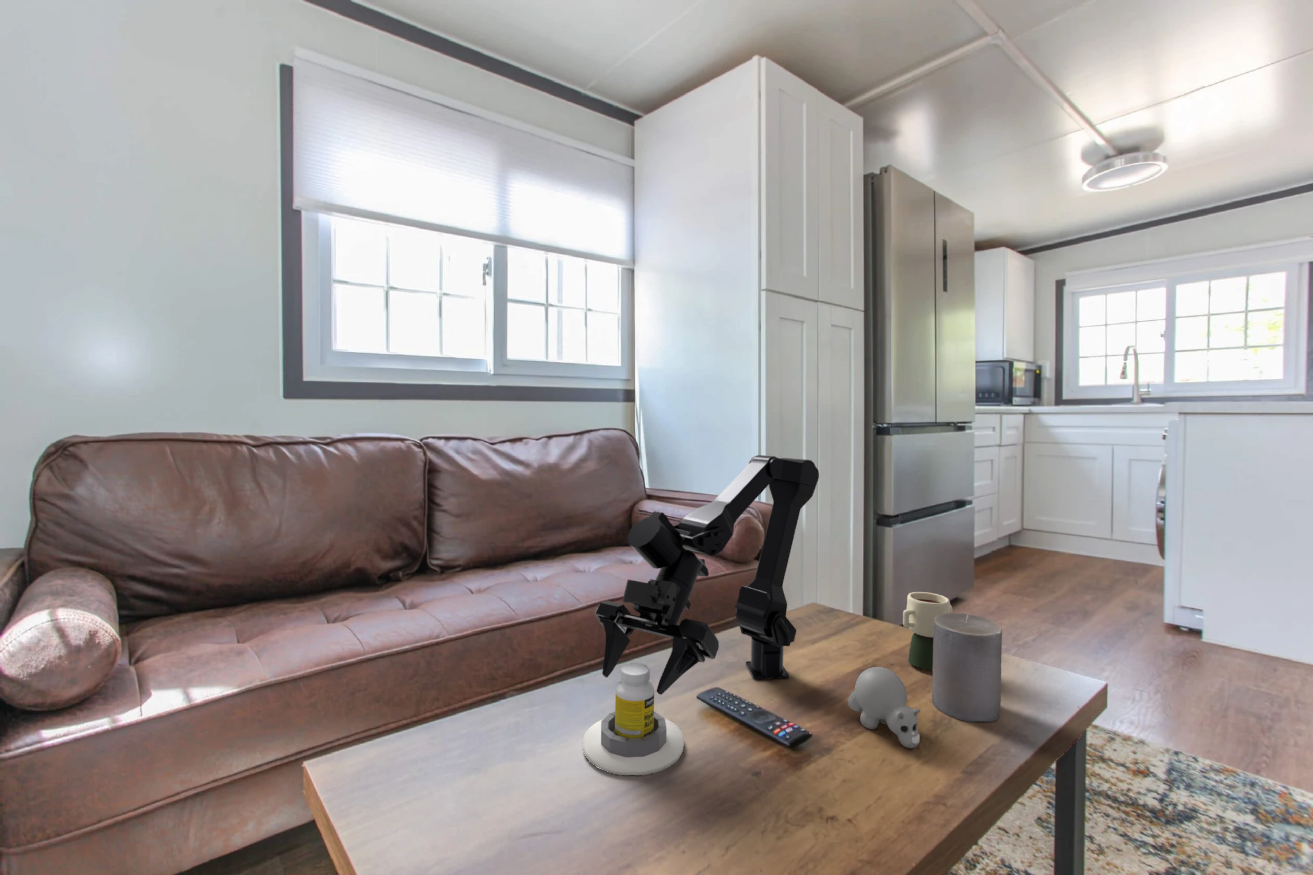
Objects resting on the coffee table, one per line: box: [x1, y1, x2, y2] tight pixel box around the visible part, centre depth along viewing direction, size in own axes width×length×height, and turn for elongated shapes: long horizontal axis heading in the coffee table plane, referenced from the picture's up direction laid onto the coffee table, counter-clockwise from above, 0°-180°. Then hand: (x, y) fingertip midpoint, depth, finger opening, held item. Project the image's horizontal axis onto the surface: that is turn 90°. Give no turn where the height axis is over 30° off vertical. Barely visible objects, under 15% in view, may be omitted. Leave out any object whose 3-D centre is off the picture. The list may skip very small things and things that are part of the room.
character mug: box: [902, 591, 953, 672], centre depth 109 cm, size 11×7×13 cm, turn 109°
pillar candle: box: [931, 612, 1003, 723], centre depth 94 cm, size 10×10×15 cm
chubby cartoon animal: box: [847, 666, 921, 749], centre depth 86 cm, size 7×12×8 cm, turn 17°
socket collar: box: [582, 711, 685, 776], centre depth 83 cm, size 14×14×3 cm
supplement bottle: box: [614, 662, 655, 738], centre depth 83 cm, size 5×5×10 cm
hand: (630, 684), depth 82 cm, fingers open, 9 cm apart
